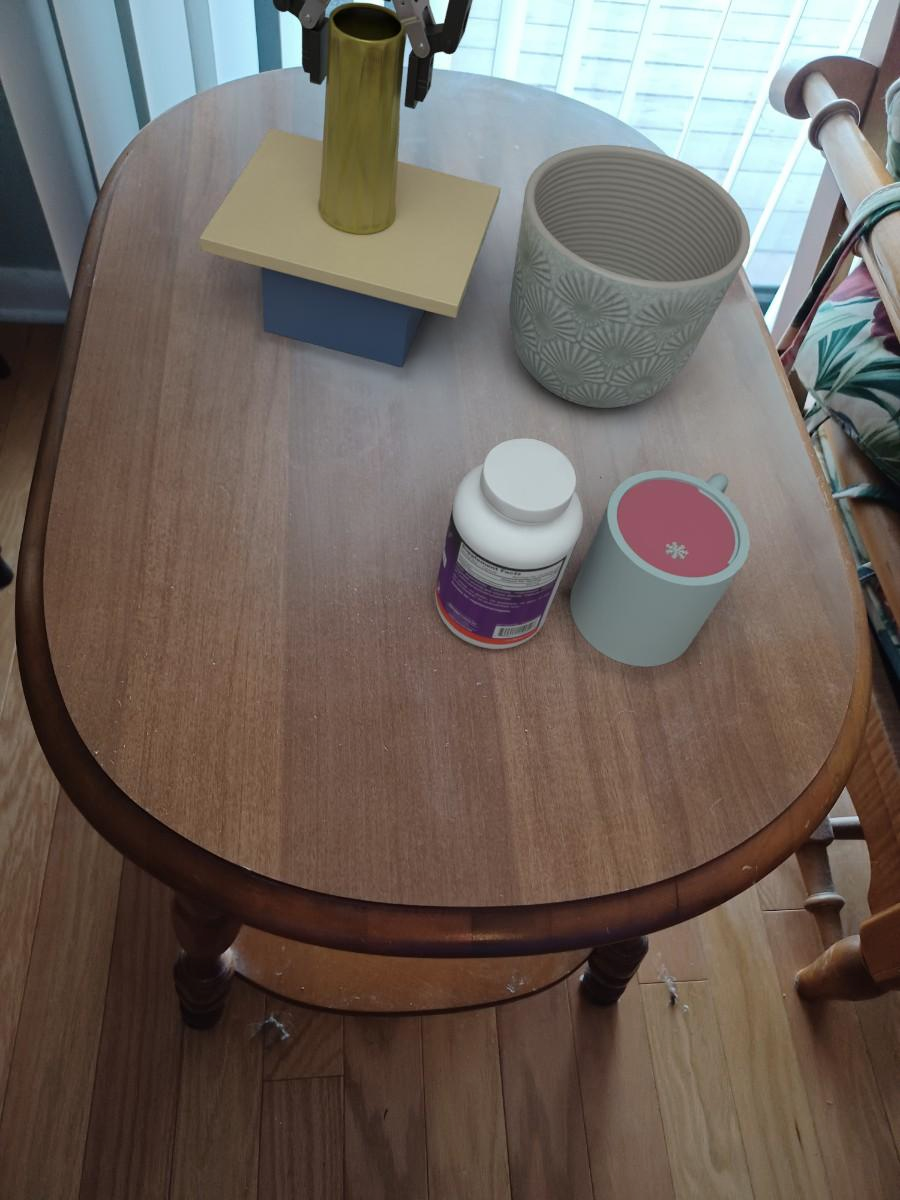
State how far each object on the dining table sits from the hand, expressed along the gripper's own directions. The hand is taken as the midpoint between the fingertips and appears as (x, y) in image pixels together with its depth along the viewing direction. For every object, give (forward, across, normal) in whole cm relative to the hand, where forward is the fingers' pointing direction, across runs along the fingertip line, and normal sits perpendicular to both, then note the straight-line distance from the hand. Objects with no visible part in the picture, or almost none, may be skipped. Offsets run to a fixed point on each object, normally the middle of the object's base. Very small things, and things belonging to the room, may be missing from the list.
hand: (365, 89), depth 67 cm
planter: (+19, -21, 0) cm, 28 cm away
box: (+19, 0, 0) cm, 19 cm away
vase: (+10, 0, 0) cm, 10 cm away
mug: (+19, -29, +22) cm, 41 cm away
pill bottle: (+19, -18, +27) cm, 38 cm away
